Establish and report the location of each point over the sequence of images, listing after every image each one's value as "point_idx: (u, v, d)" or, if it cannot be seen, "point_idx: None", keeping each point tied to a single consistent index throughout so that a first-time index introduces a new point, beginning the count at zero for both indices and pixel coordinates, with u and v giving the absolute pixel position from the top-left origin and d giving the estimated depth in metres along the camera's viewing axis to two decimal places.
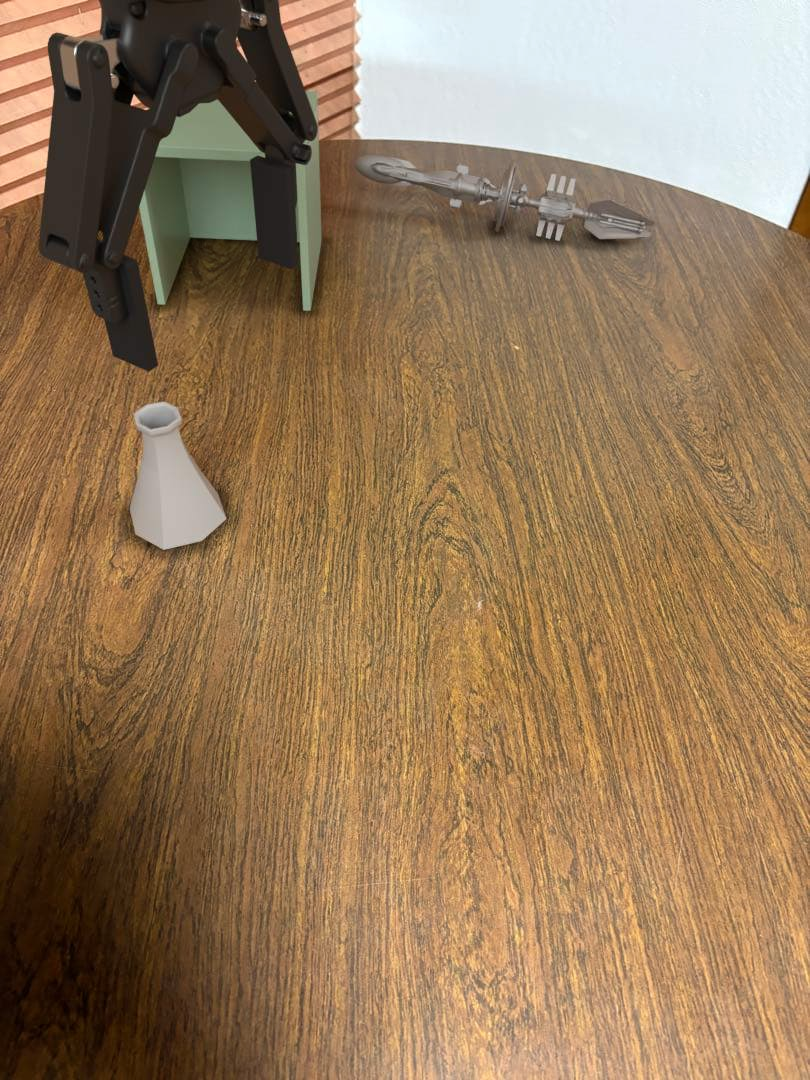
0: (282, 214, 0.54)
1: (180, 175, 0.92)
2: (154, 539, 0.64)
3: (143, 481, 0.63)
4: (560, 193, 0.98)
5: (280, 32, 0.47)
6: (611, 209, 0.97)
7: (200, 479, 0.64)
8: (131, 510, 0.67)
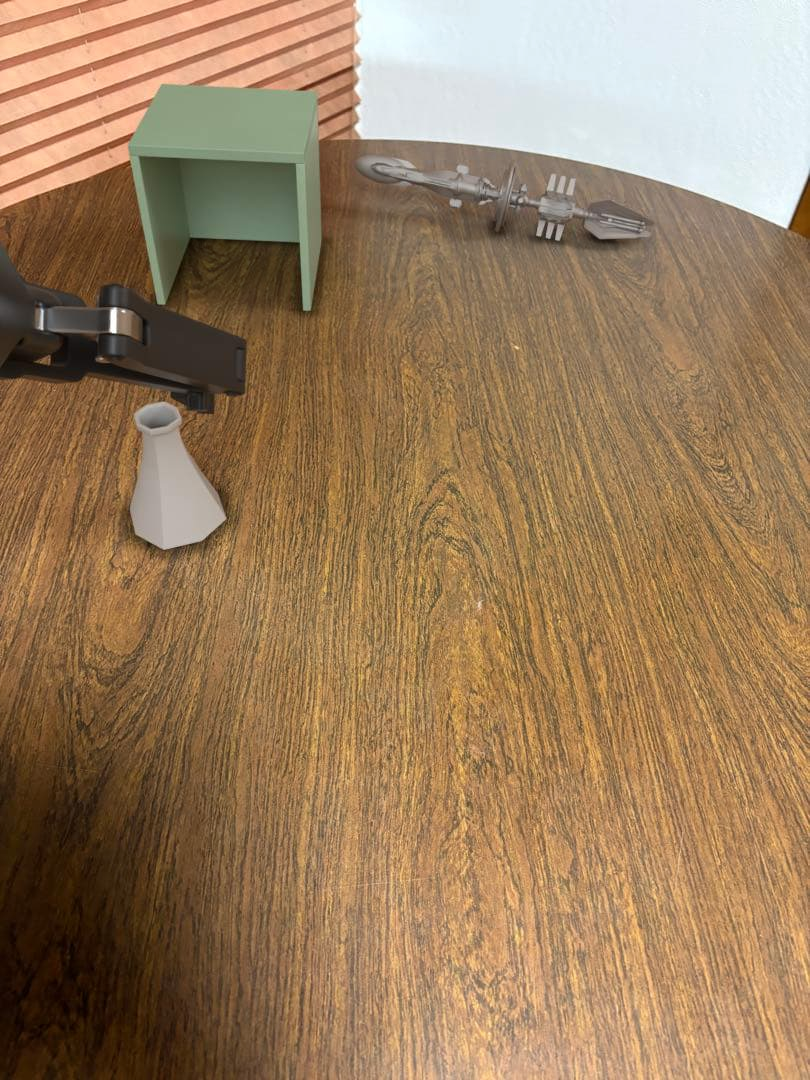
0: None
1: (180, 175, 0.92)
2: (154, 539, 0.64)
3: (143, 481, 0.63)
4: (560, 193, 0.98)
5: (145, 367, 0.33)
6: (611, 209, 0.97)
7: (200, 479, 0.64)
8: (131, 510, 0.67)
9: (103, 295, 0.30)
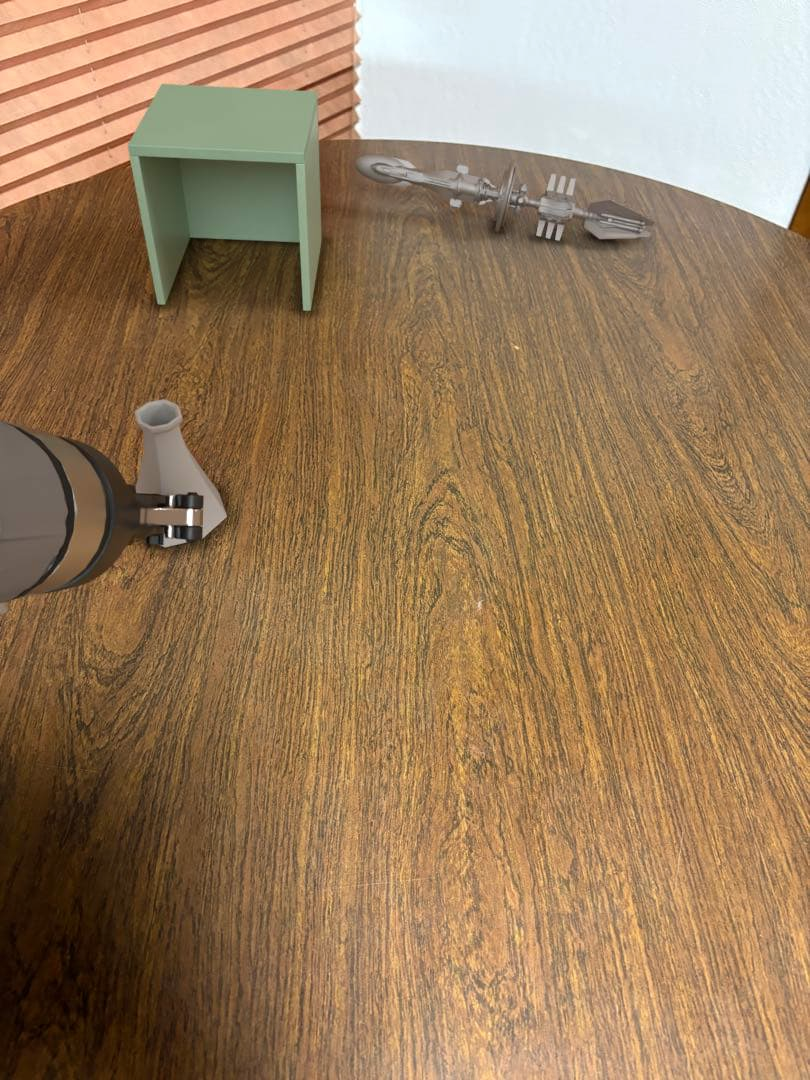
0: None
1: (180, 175, 0.92)
2: None
3: (144, 479, 0.63)
4: (560, 193, 0.98)
5: None
6: (611, 209, 0.97)
7: (201, 477, 0.64)
8: None
9: (190, 501, 0.46)
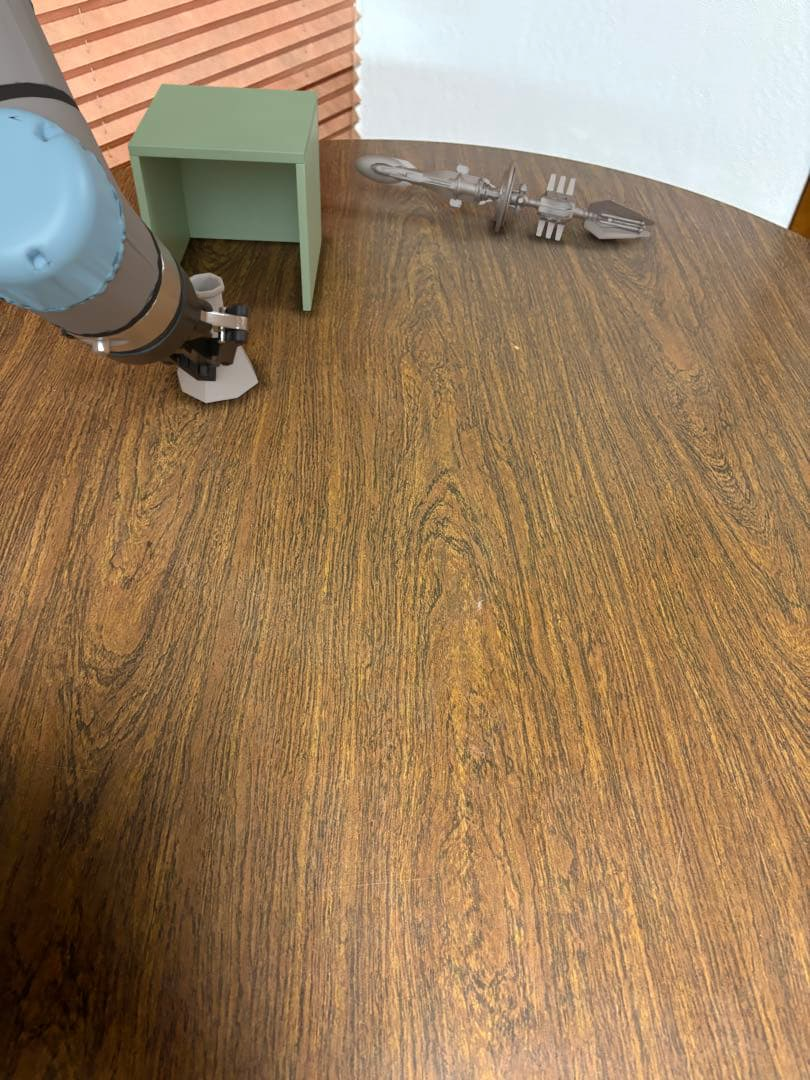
0: None
1: (180, 175, 0.92)
2: (198, 393, 0.77)
3: None
4: (560, 193, 0.98)
5: (233, 347, 0.60)
6: (611, 209, 0.97)
7: None
8: (178, 373, 0.79)
9: (238, 309, 0.58)
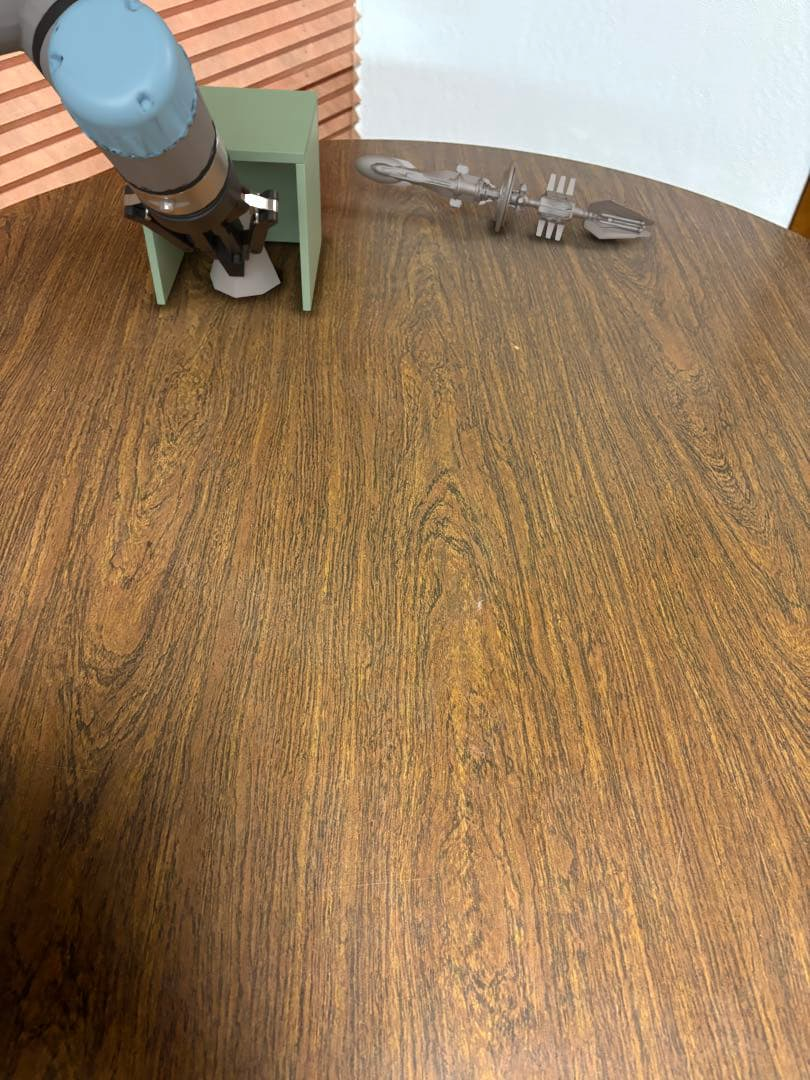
0: None
1: None
2: (228, 289, 0.89)
3: None
4: (560, 193, 0.98)
5: (264, 229, 0.72)
6: (611, 209, 0.97)
7: (263, 246, 0.88)
8: (211, 274, 0.91)
9: (270, 193, 0.70)
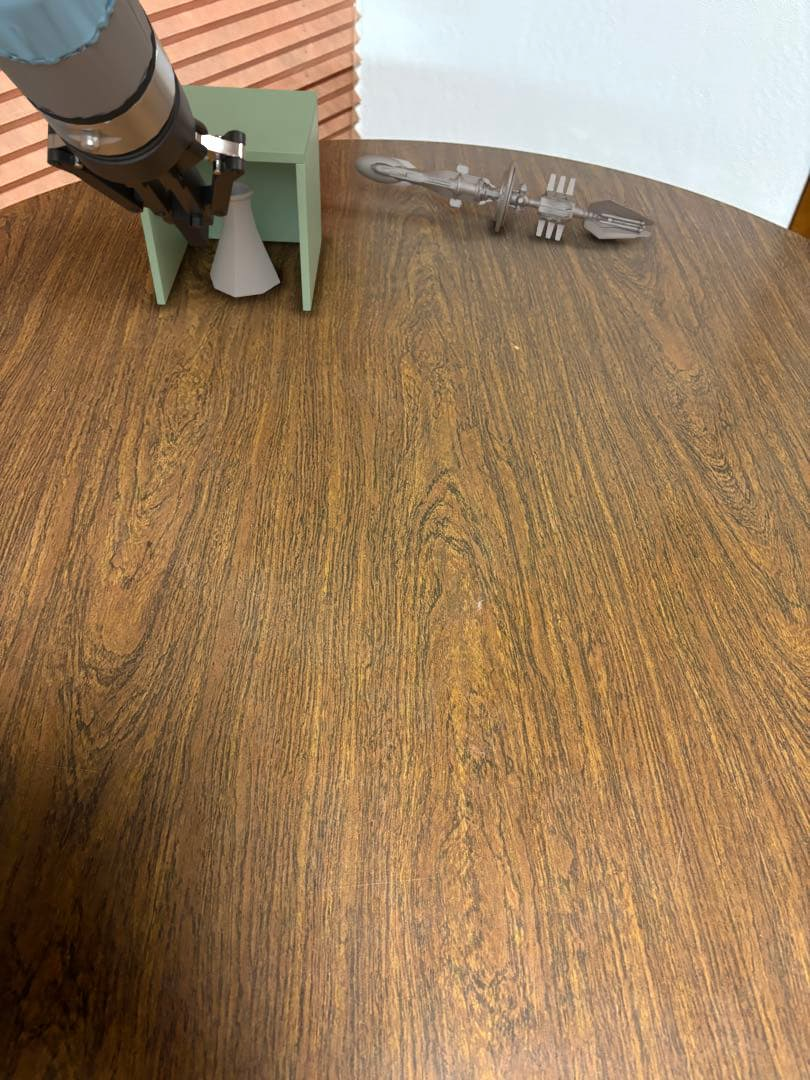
0: None
1: None
2: (228, 289, 0.89)
3: (222, 243, 0.87)
4: (560, 193, 0.98)
5: (228, 182, 0.57)
6: (611, 209, 0.97)
7: (263, 245, 0.88)
8: (211, 273, 0.91)
9: (235, 135, 0.55)
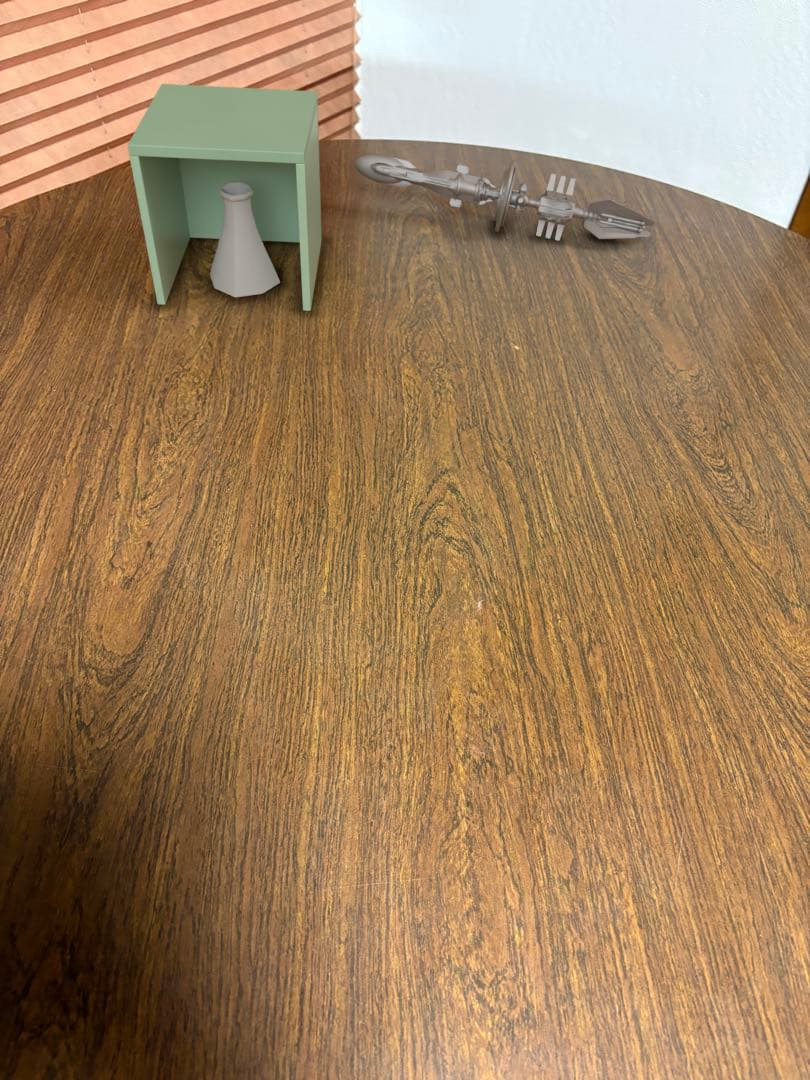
0: None
1: (180, 175, 0.92)
2: (228, 289, 0.89)
3: (222, 243, 0.87)
4: (560, 193, 0.98)
5: None
6: (611, 209, 0.97)
7: (263, 245, 0.88)
8: (211, 273, 0.91)
9: None
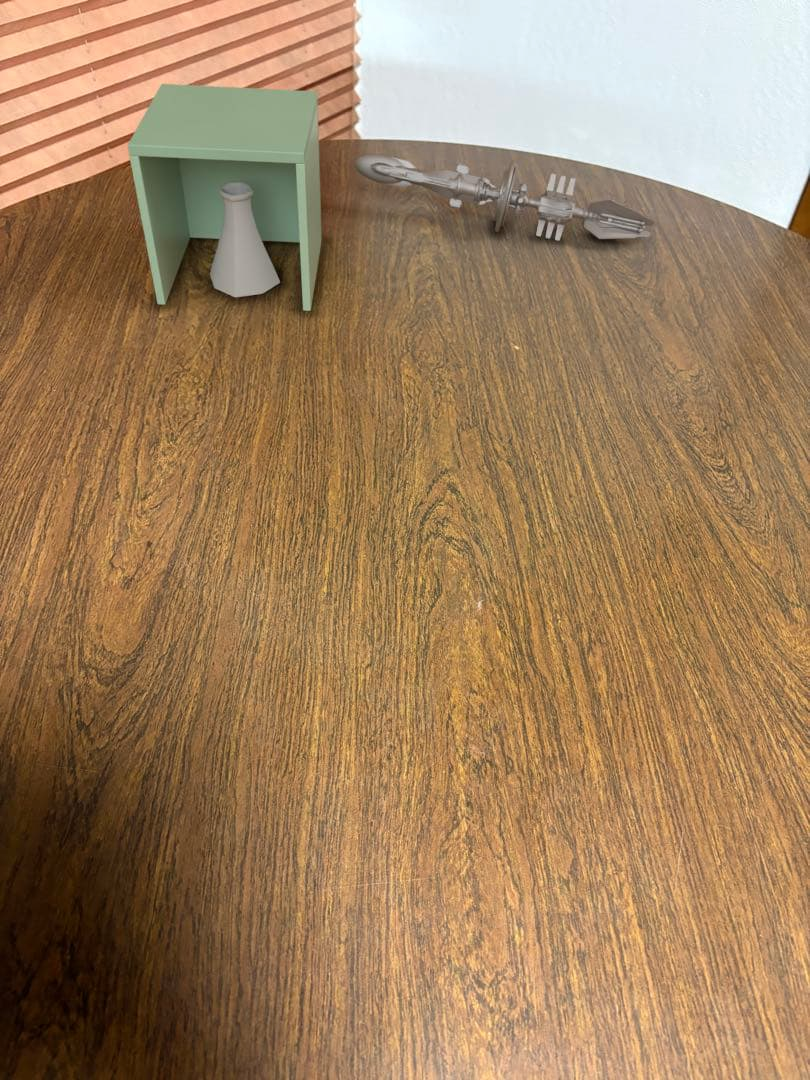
0: None
1: (180, 175, 0.92)
2: (228, 289, 0.89)
3: (222, 243, 0.87)
4: (560, 193, 0.98)
5: None
6: (611, 209, 0.97)
7: (263, 245, 0.88)
8: (211, 273, 0.91)
9: None
